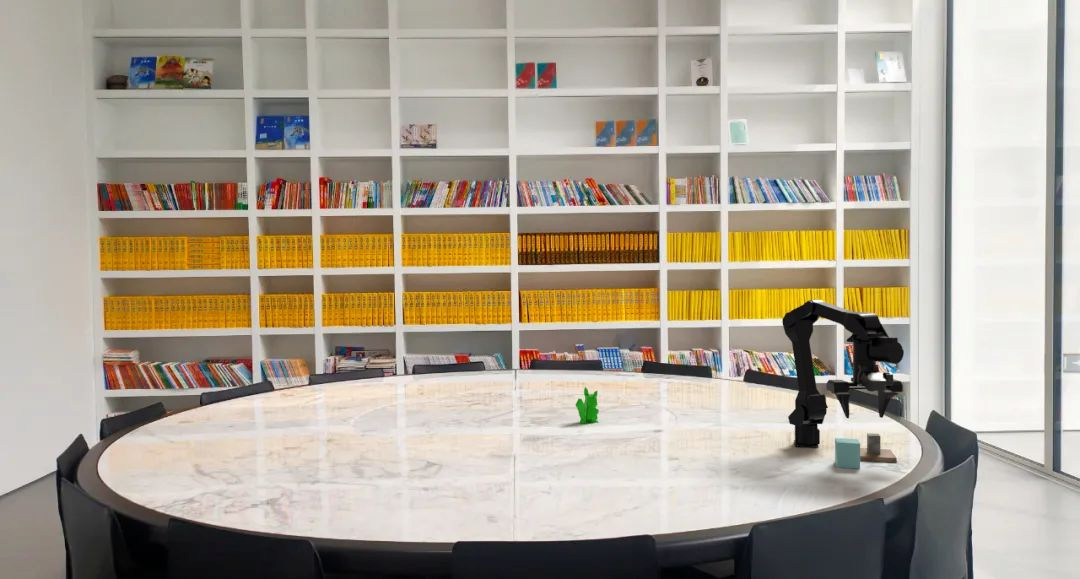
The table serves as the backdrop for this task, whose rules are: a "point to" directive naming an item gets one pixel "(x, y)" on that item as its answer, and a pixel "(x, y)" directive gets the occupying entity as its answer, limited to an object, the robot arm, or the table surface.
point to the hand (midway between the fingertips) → (864, 417)
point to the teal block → (847, 453)
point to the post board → (878, 457)
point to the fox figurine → (588, 408)
